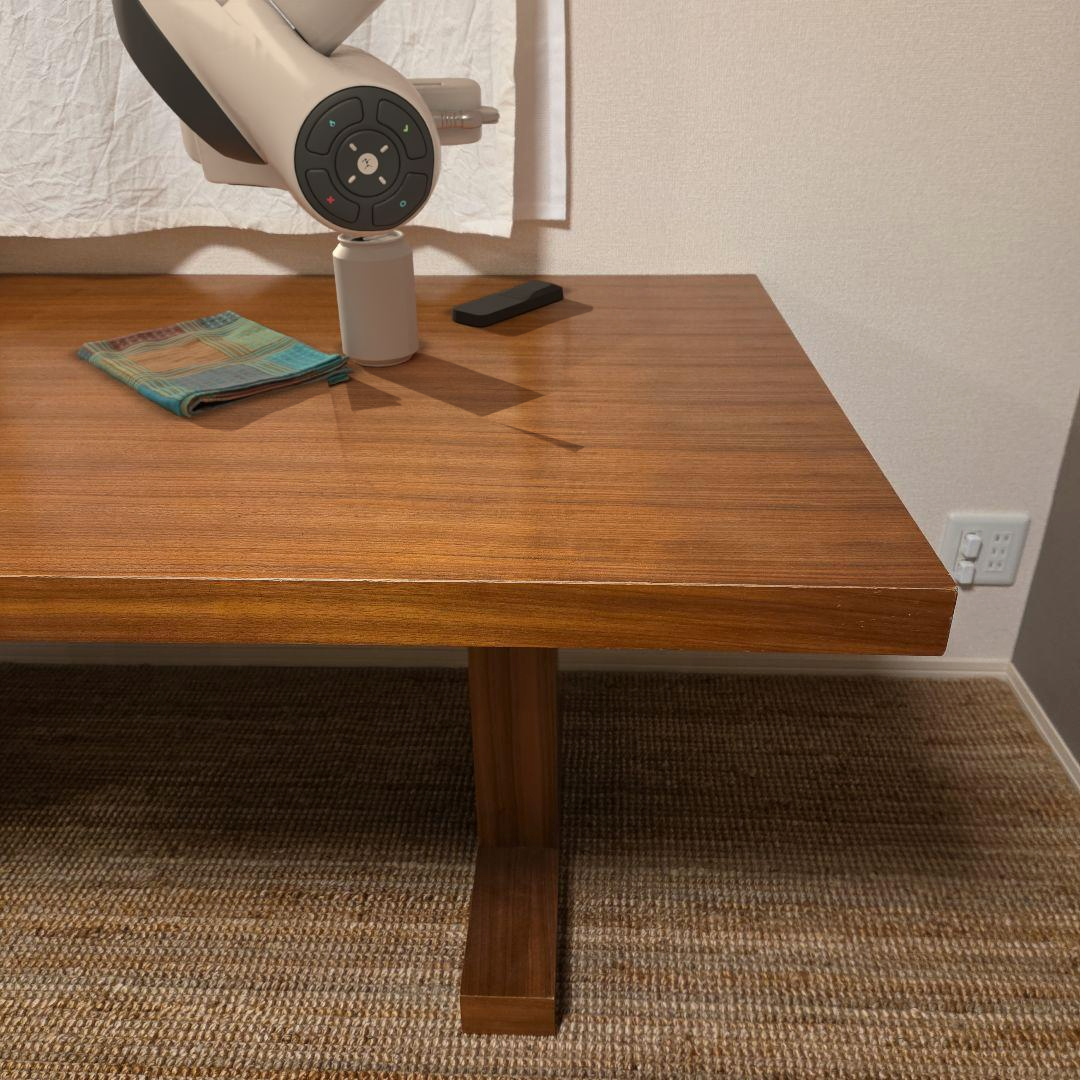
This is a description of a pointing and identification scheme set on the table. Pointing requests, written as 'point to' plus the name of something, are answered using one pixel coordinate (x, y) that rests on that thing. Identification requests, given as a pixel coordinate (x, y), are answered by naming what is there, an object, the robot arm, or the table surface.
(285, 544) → the table surface
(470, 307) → the remote control
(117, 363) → the dish towel
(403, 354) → the can
